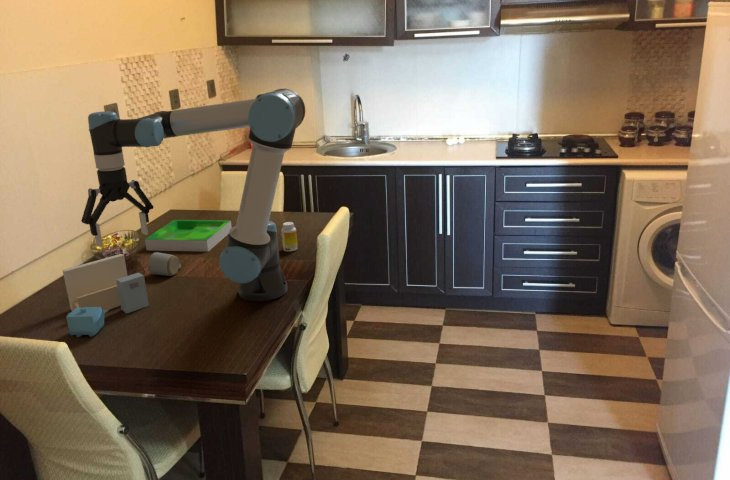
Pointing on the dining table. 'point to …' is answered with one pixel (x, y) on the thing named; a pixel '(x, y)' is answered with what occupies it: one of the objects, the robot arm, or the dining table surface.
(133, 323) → the dining table surface
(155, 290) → the dining table surface
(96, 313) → the light blue rounded block
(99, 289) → the board
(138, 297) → the grey block
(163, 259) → the grey cylinder
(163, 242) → the tray
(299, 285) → the dining table surface
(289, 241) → the supplement bottle
